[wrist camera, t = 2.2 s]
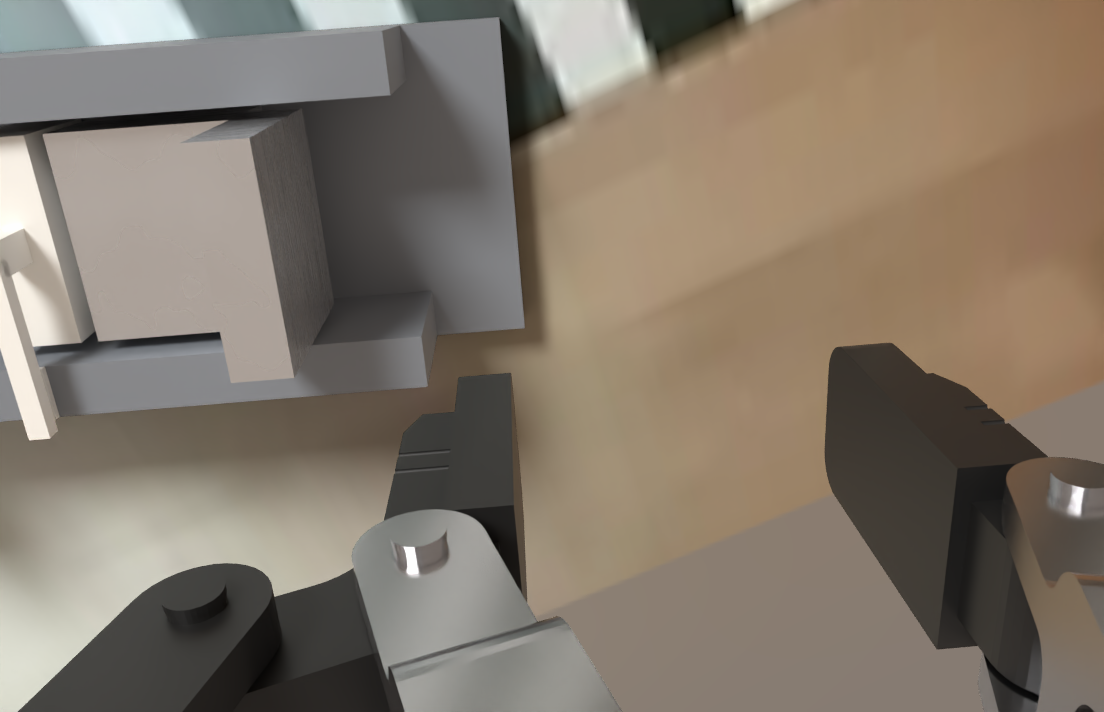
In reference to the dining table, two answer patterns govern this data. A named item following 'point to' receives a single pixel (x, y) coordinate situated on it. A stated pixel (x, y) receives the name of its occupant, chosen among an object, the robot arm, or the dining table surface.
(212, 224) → the notched taupe block
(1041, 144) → the dining table surface
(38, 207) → the drag pointer
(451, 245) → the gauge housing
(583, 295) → the dining table surface
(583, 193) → the dining table surface
